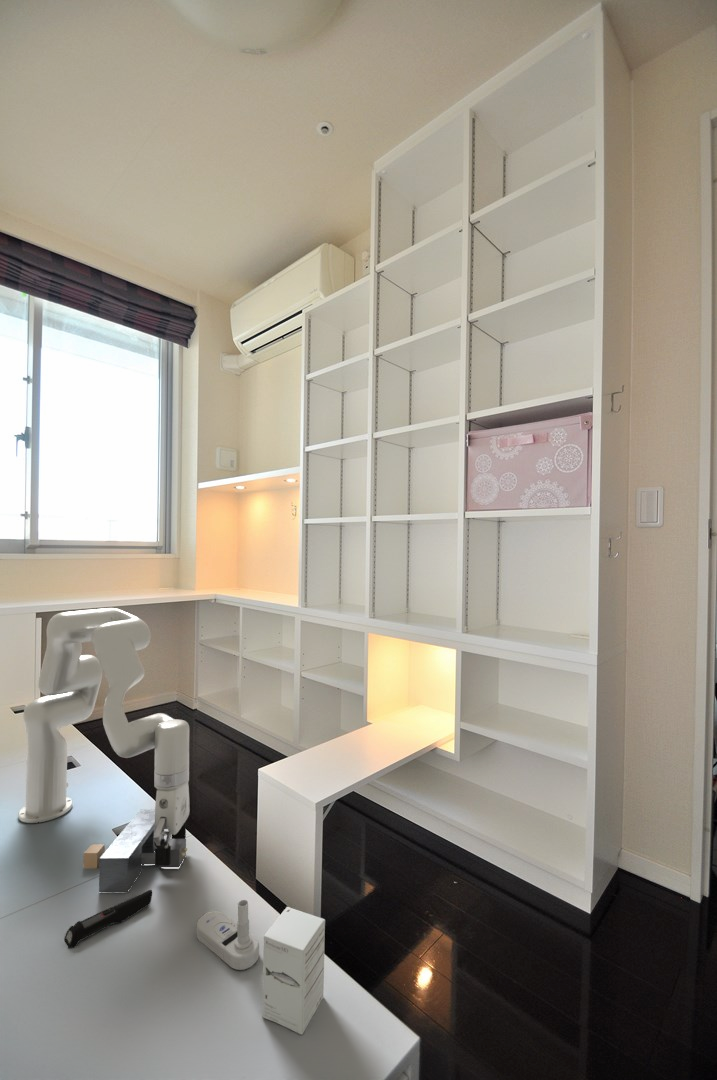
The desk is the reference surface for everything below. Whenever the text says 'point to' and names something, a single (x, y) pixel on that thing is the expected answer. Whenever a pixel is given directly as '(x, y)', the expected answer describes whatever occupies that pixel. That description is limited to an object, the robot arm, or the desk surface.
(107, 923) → the electric trimmer
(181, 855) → the lever
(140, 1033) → the desk surface
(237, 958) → the electronic device
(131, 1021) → the desk surface
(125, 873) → the block
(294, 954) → the supplement box
